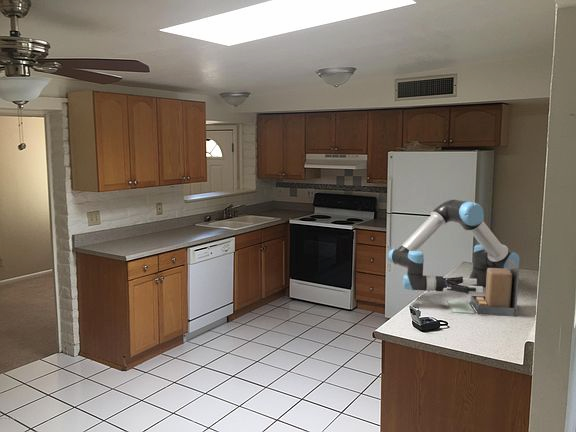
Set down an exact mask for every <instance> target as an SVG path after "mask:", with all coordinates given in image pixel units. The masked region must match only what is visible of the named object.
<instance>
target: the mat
mask: <svg viewBox="0 0 576 432" xmlns="http://www.w3.org/2000/svg"><path fill="white" fill-rule="evenodd" d="M447 303H448V305H449V307H450V310H451V312H452V313H453V314H466V313H468V314H470V315H475V314H476V313H475V311H474V309H473V308H472V307H473V306H471V303H470V302H469V301H453V300H452V301H451V300H450V301H449V300H447Z"/></svg>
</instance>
